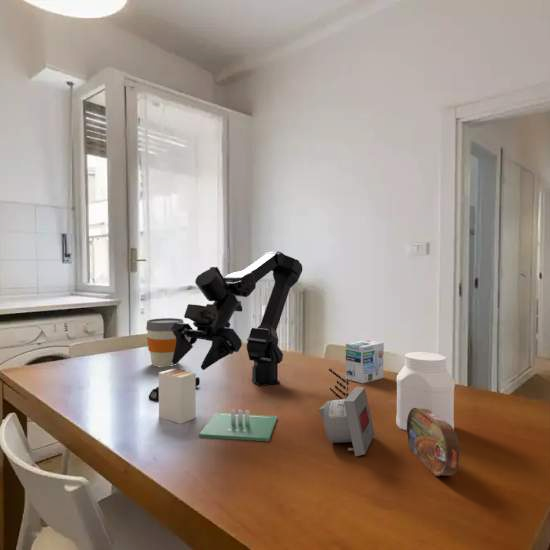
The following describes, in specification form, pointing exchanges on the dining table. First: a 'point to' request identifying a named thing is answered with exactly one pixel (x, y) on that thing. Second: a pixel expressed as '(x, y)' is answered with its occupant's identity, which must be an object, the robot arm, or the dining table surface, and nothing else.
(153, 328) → the reusable coffee cup
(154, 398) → the electric trimmer
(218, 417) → the header board
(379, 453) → the dining table surface
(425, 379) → the jar
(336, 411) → the voltmeter
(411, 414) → the tin
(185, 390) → the plug block
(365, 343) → the light bulb box
